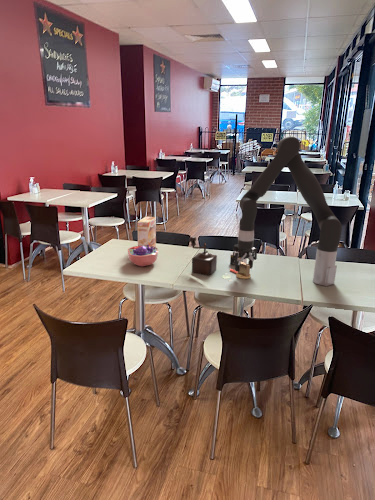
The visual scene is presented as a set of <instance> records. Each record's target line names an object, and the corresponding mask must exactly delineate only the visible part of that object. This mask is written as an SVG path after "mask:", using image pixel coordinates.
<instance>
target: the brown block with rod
mask: <svg viewBox="0 0 375 500" xmlns="http://www.w3.org/2000/svg"><path fill="white" fill-rule="evenodd" d="M229 271H230V272H231V271H232V273H234V274H236V276H235V277H236V278H237V279H239V280H250V279H251V275H252V274H251V273H250V271H251V270H250V265H249V264H248V263H244V262H241V263H240V270H239V272H237V271H235V269H233V268H230V269H229Z"/></svg>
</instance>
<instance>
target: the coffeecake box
mask: <svg viewBox="0 0 375 500" xmlns="http://www.w3.org/2000/svg"><path fill="white" fill-rule="evenodd" d="M156 221H157V218H156V216H144V217H143V218H141V219H139V220H138V221H137V246H140V245H150V246H154V247H156V248H157V236H156V234H157V222H156Z"/></svg>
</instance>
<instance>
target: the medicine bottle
mask: <svg viewBox="0 0 375 500" xmlns="http://www.w3.org/2000/svg"><path fill="white" fill-rule="evenodd" d="M238 250H239V249H238V243H237V244H234V245H233V252H234V251H235V252H238ZM233 252H232V253H231V254H230V260H229V265H232V266H235V264H233V263H232V257H233ZM239 258H240V257H239ZM240 259H241V258H240ZM247 261H248V258H246V259H243V261H241V262H244V263H247ZM247 264H248V263H247Z"/></svg>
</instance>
